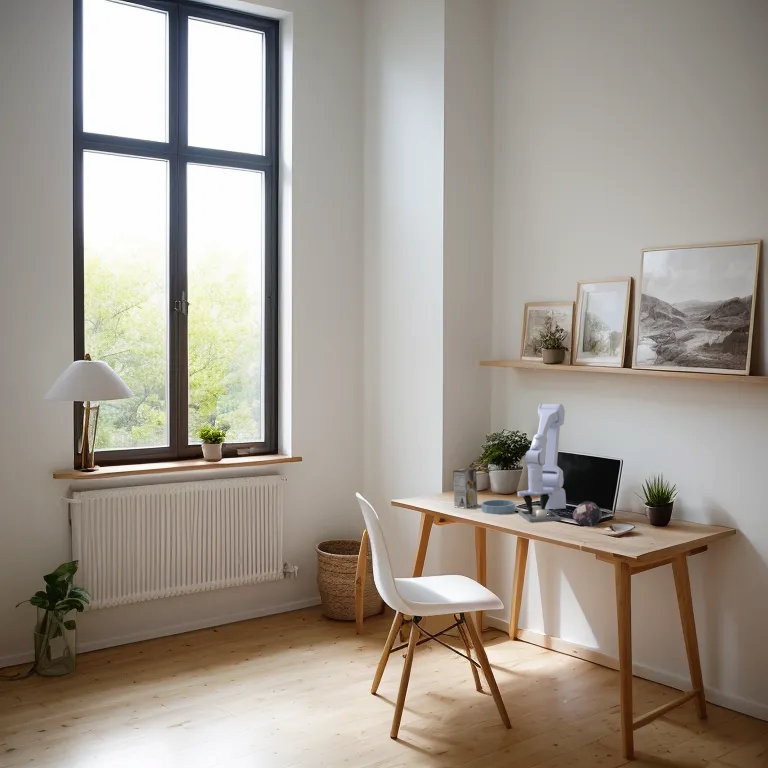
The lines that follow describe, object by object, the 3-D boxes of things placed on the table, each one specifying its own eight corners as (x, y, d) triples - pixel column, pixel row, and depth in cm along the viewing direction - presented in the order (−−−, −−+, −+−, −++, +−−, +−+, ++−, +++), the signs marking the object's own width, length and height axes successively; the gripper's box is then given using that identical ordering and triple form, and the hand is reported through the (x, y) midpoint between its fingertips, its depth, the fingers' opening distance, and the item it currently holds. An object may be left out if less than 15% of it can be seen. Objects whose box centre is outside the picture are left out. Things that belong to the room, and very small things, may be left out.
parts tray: (548, 514, 352) (548, 509, 351) (560, 522, 336) (560, 517, 336) (518, 516, 350) (518, 511, 350) (529, 524, 335) (529, 519, 335)
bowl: (510, 508, 366) (510, 499, 366) (519, 515, 353) (519, 505, 352) (478, 510, 365) (478, 501, 364) (486, 517, 351) (486, 507, 351)
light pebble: (540, 513, 349) (539, 505, 349) (543, 516, 345) (543, 507, 344) (529, 514, 348) (529, 506, 348) (532, 516, 344) (532, 508, 344)
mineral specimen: (565, 520, 332) (574, 495, 333) (589, 528, 334) (598, 504, 335) (576, 524, 323) (585, 499, 323) (600, 533, 325) (609, 508, 325)
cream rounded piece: (545, 517, 342) (545, 508, 342) (548, 519, 338) (548, 511, 338) (534, 518, 342) (534, 509, 342) (537, 520, 337) (537, 511, 337)
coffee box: (465, 503, 380) (464, 467, 379) (477, 505, 376) (476, 468, 375) (454, 507, 373) (452, 470, 372) (466, 508, 369) (465, 471, 368)
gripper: (520, 482, 341) (521, 516, 342) (556, 480, 343) (557, 514, 343) (515, 479, 348) (516, 513, 349) (550, 477, 350) (551, 510, 350)
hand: (536, 513), depth 347 cm, fingers closed on light pebble, 4 cm apart
